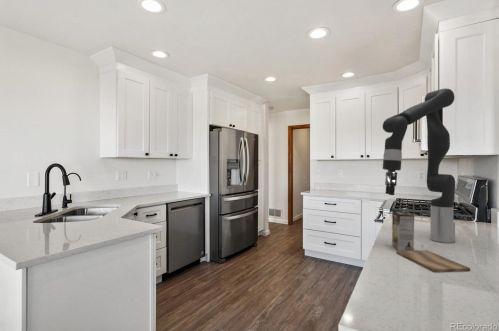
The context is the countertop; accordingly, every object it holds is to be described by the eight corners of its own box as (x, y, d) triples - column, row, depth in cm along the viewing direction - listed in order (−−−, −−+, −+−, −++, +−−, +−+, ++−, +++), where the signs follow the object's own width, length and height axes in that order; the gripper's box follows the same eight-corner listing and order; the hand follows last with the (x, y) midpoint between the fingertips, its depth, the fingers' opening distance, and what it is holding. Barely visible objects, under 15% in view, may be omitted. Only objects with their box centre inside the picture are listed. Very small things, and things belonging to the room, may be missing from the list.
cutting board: (426, 252, 113) (426, 250, 113) (470, 271, 93) (470, 268, 93) (396, 253, 111) (396, 251, 111) (434, 272, 92) (434, 269, 92)
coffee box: (391, 245, 123) (391, 211, 123) (406, 246, 121) (406, 211, 122) (398, 251, 114) (398, 214, 114) (414, 252, 112) (415, 215, 113)
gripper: (404, 159, 114) (402, 196, 114) (398, 161, 128) (395, 194, 128) (385, 158, 117) (383, 194, 117) (381, 160, 130) (378, 192, 130)
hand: (389, 194), depth 122 cm, fingers open, 8 cm apart
